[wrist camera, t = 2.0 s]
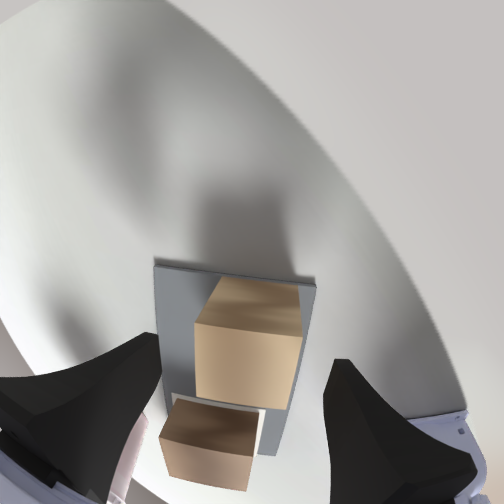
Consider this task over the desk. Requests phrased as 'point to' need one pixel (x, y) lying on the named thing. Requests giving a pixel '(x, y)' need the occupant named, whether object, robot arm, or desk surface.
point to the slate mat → (183, 343)
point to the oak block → (248, 343)
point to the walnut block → (209, 444)
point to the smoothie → (127, 462)
